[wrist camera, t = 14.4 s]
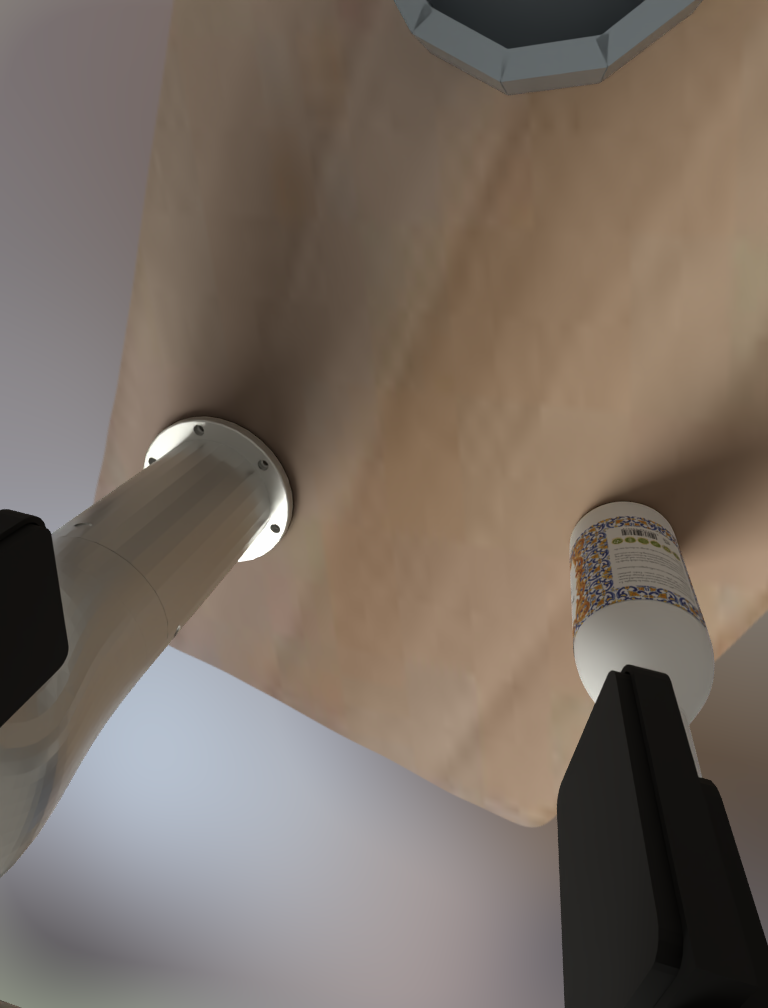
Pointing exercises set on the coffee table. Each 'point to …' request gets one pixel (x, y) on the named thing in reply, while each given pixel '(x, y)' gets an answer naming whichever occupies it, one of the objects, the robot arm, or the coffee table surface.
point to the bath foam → (637, 605)
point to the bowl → (540, 37)
